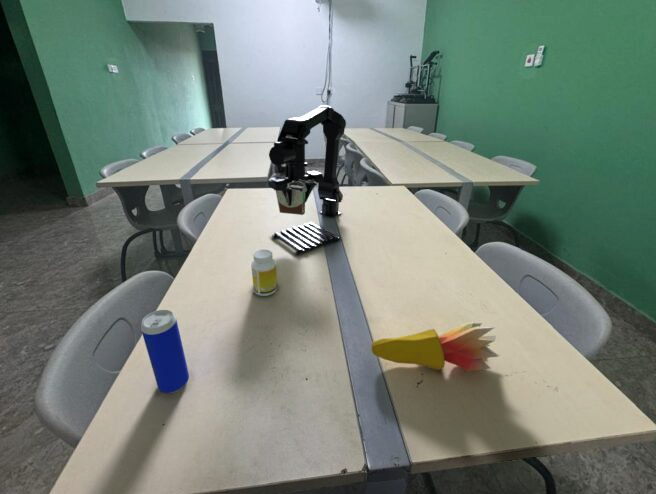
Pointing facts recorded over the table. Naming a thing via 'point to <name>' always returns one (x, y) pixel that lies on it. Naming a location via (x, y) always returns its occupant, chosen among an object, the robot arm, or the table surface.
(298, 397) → the table surface
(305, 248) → the drying rack
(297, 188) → the food container
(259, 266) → the pill bottle
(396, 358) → the torch
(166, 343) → the beverage can
